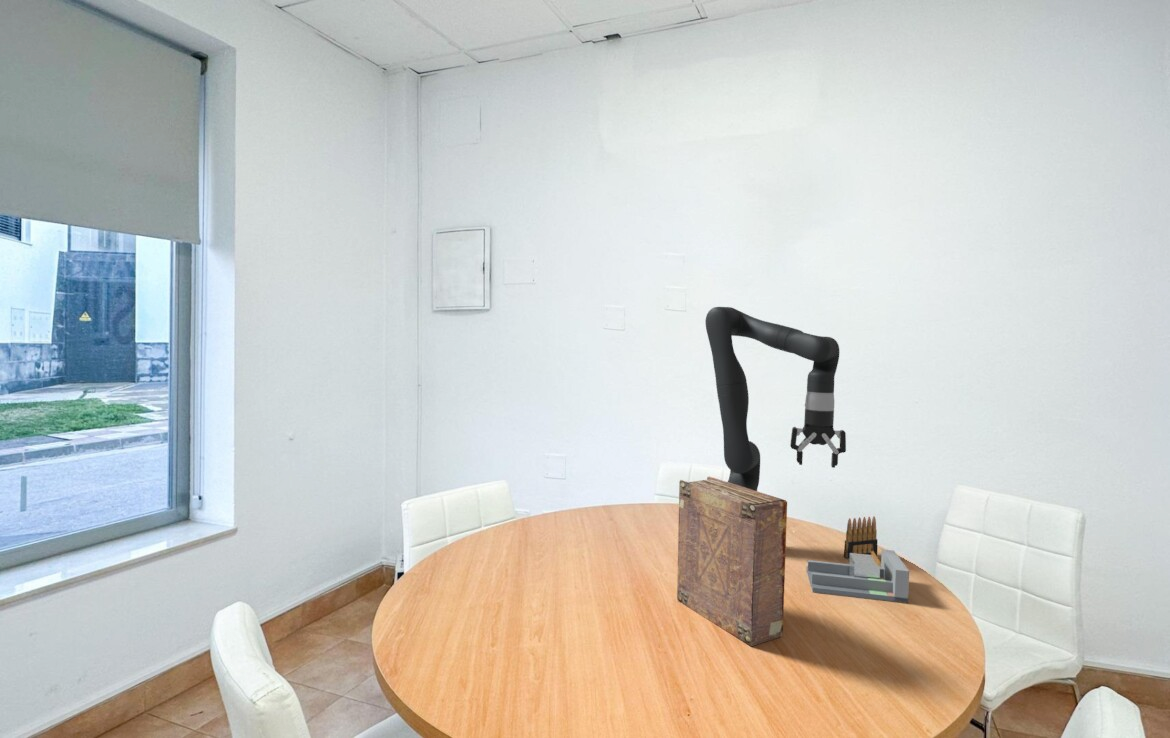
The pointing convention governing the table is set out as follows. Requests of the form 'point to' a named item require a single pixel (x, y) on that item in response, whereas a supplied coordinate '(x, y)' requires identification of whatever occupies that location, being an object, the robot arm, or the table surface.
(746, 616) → the book
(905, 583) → the base
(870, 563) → the plunger
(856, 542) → the ammunition clip
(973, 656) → the table surface
